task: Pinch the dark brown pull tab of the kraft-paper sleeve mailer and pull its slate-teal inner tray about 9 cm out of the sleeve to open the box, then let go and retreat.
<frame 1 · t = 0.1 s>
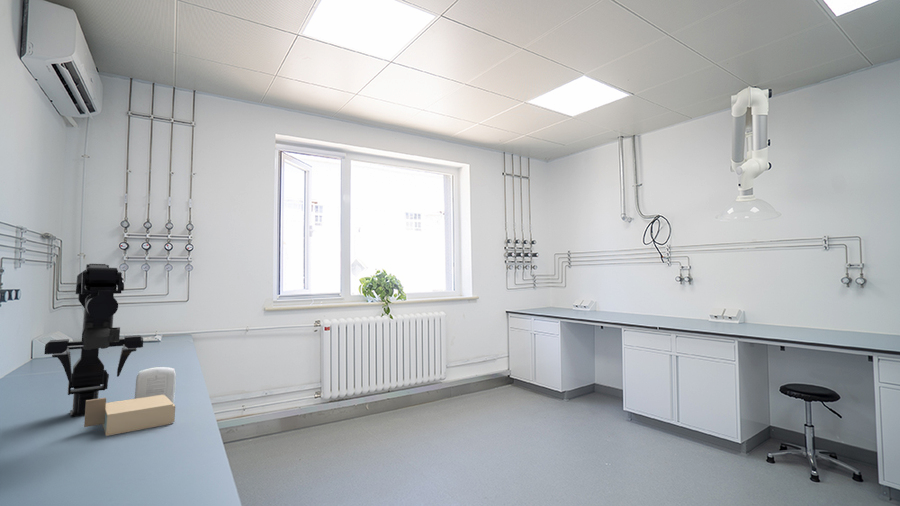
hand: (94, 378, 105), 14 cm above the lab bench, fingers open, 9 cm apart
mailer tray: (128, 408, 114), point 4 cm above the lab bench, slide at 0.0 cm, touching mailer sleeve
white product package: (154, 408, 129), on the lab bench
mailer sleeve: (136, 423, 115), on the lab bench
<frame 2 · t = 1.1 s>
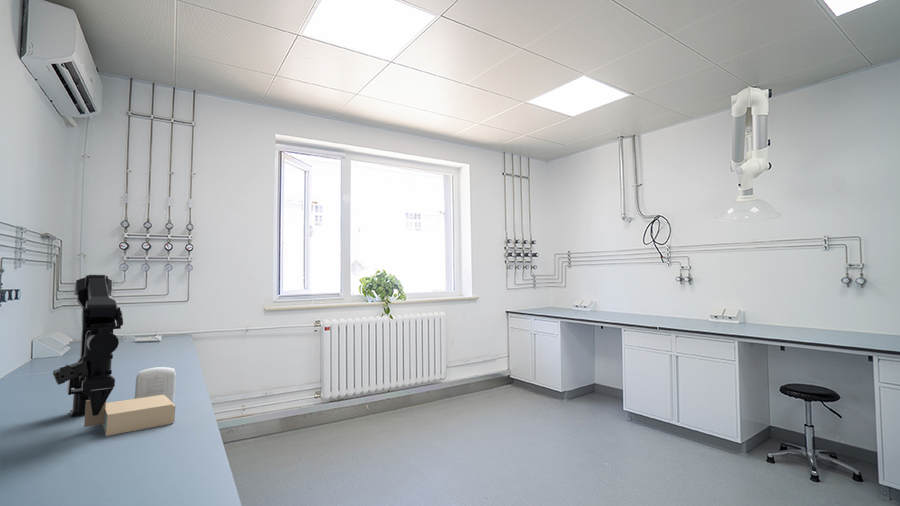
hand: (94, 411, 109), 5 cm above the lab bench, fingers open, 9 cm apart
nothing on the lab bench moved.
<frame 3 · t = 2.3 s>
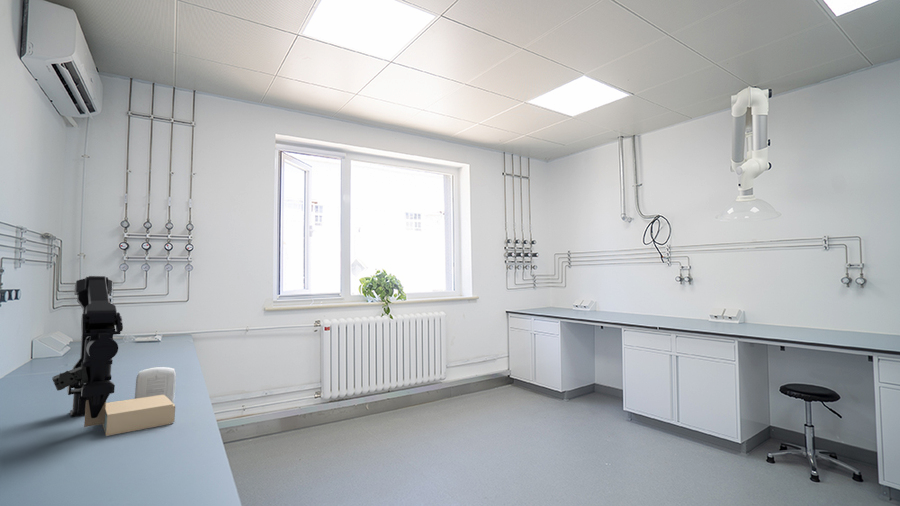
hand: (93, 417, 109), 4 cm above the lab bench, fingers closed on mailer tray
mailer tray: (128, 408, 114), point 4 cm above the lab bench, slide at 0.0 cm, touching gripper
everything else where it was.
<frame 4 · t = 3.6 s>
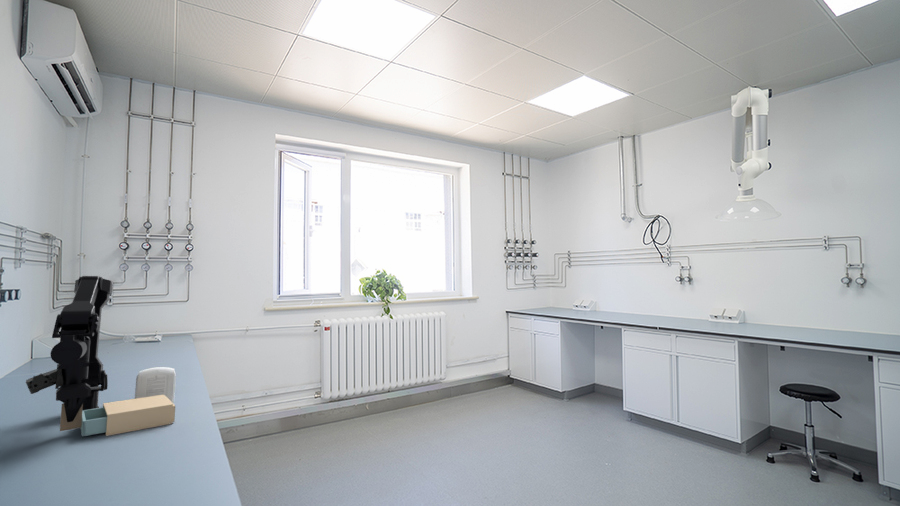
hand: (70, 420, 106), 4 cm above the lab bench, fingers closed on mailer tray
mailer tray: (106, 411, 111), point 4 cm above the lab bench, slide at 4.6 cm, touching gripper
everything else where it was.
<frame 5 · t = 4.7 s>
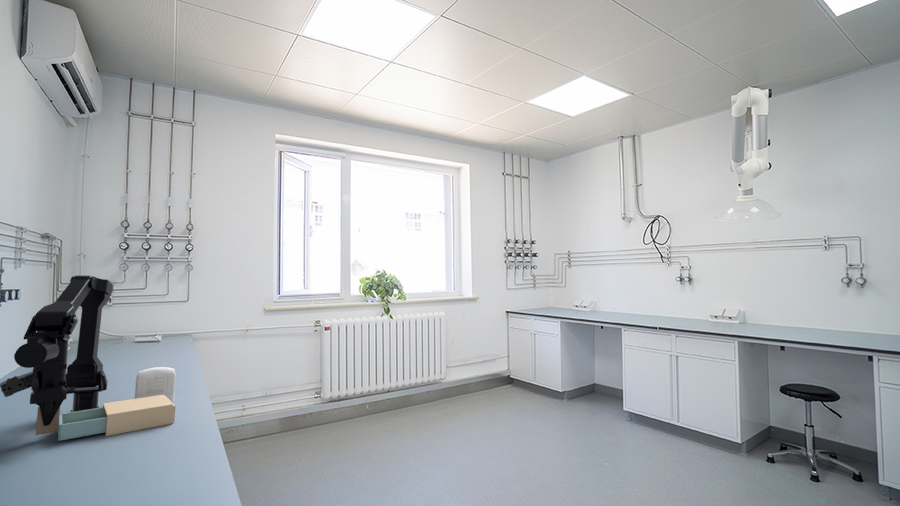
hand: (46, 424, 103), 4 cm above the lab bench, fingers closed on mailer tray
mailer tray: (85, 415, 108), point 4 cm above the lab bench, slide at 8.9 cm, touching gripper
everything else where it was.
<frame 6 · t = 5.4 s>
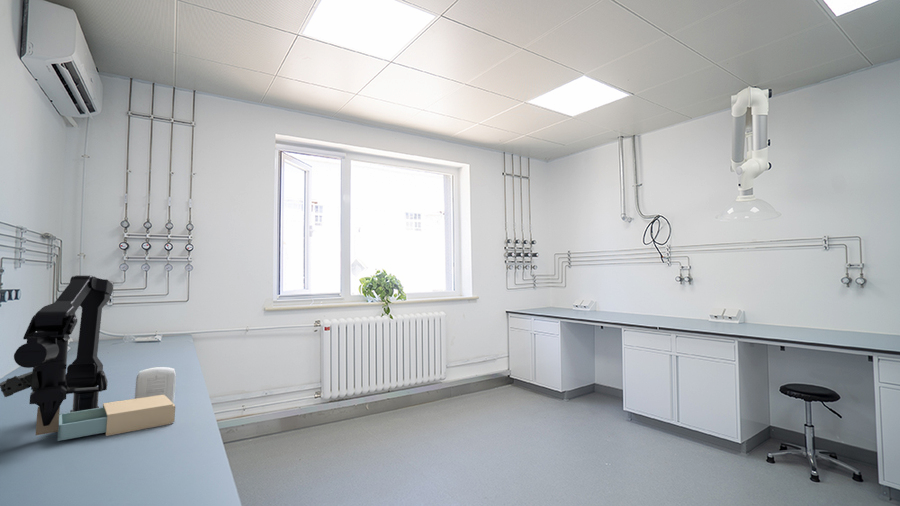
hand: (46, 424, 103), 4 cm above the lab bench, fingers closed
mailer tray: (85, 415, 108), point 4 cm above the lab bench, slide at 8.9 cm
everything else where it was.
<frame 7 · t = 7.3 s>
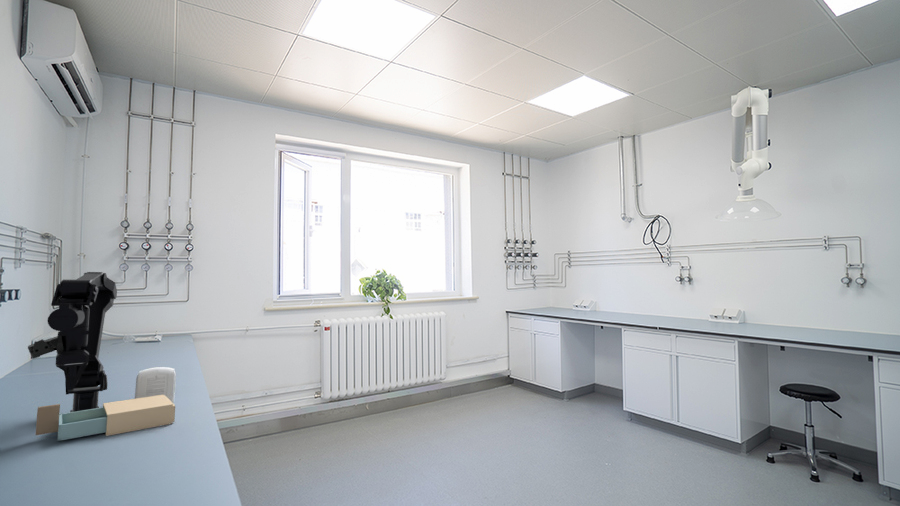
hand: (70, 385, 110), 11 cm above the lab bench, fingers open, 9 cm apart
nothing on the lab bench moved.
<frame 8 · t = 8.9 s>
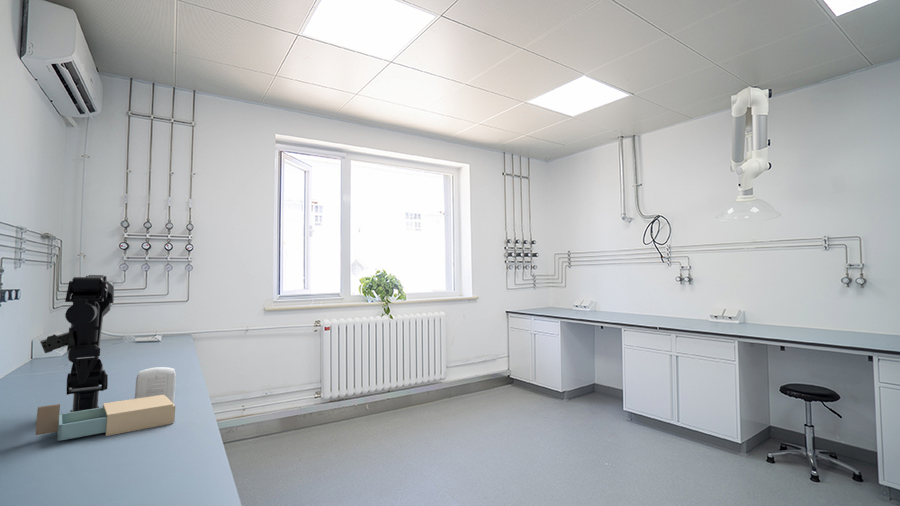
hand: (80, 380, 114), 12 cm above the lab bench, fingers open, 9 cm apart
nothing on the lab bench moved.
at the end: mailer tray slide at 8.9 cm; the gripper is holding nothing; white product package moved 0.2 cm from its start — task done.
